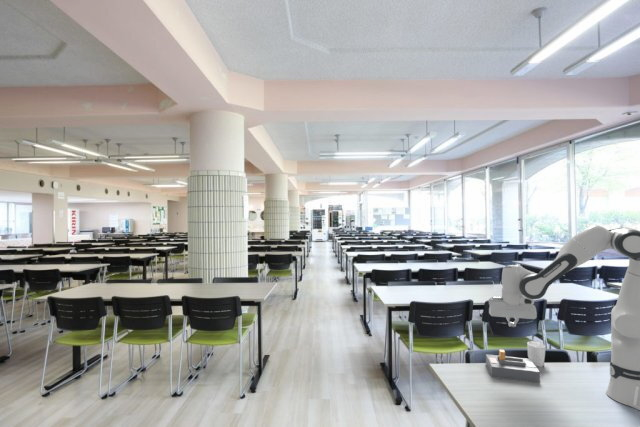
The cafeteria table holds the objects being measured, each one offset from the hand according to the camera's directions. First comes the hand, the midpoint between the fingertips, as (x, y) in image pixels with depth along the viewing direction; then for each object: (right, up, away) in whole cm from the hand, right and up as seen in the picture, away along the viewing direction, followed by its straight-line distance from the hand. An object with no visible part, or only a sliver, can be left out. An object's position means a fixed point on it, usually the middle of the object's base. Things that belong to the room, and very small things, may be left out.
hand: (512, 326), depth 162 cm
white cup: (+18, -23, +10) cm, 31 cm away
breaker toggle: (-4, -18, +1) cm, 18 cm away
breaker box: (0, -23, 0) cm, 23 cm away
